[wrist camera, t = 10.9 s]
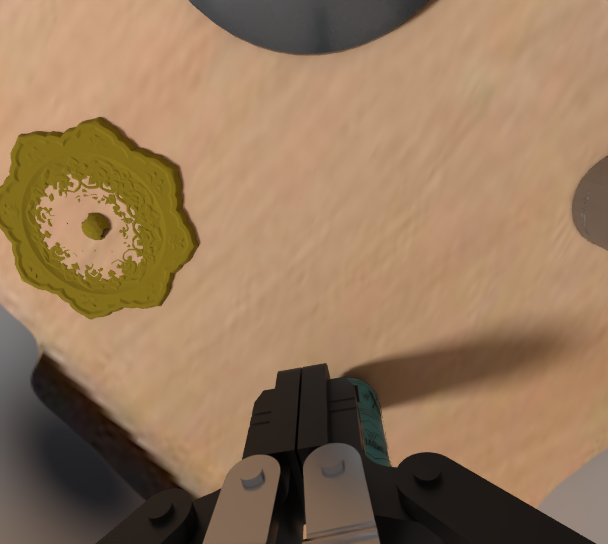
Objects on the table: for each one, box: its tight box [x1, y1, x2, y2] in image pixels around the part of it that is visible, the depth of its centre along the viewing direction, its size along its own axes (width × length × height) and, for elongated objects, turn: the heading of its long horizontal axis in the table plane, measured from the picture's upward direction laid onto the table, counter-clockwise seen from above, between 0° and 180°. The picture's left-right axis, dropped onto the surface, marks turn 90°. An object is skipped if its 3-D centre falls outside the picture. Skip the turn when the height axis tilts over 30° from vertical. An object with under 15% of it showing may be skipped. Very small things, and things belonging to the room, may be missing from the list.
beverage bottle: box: [347, 378, 392, 467], centre depth 41 cm, size 6×7×20 cm
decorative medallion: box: [0, 117, 199, 319], centre depth 44 cm, size 20×20×2 cm
